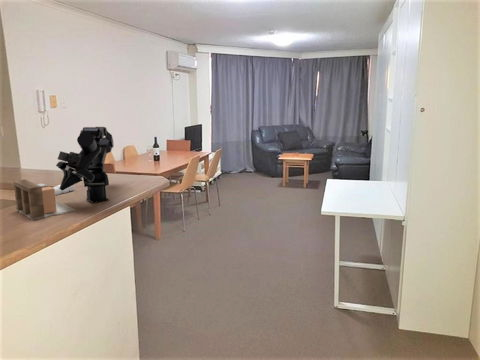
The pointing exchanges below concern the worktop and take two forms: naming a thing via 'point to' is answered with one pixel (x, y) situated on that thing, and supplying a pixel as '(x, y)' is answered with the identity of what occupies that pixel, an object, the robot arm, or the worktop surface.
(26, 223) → the worktop surface
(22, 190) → the socket block
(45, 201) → the terracotta plug
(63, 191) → the unicorn horn
